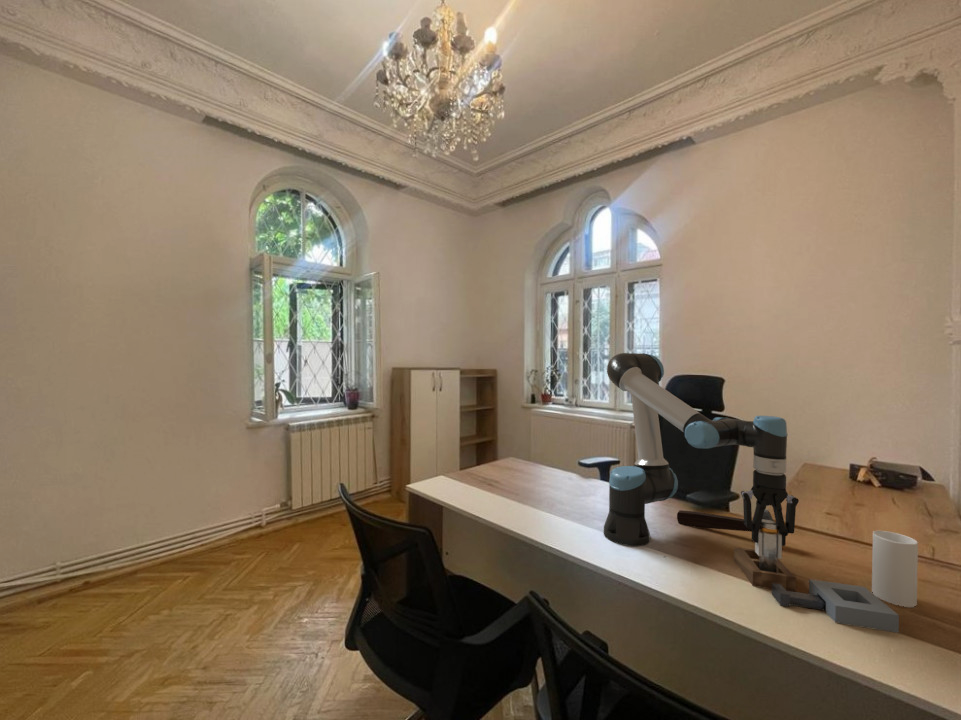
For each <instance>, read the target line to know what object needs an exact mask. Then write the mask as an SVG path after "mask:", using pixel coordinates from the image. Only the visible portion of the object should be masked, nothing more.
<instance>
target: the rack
mask: <svg viewBox="0 0 961 720" xmlns="http://www.w3.org/2000/svg"><path fill="white" fill-rule="evenodd" d="M733 549H734V550H733V551H734V552H733V561H734V562H735V563H736V565H737V566H738V567H739V569H740V571H741V572H742V574H743V575H744V576H745V578H746V579H747V580H748V581H749V583H750V584H751V586H752V587H758V588H764V589H771V590H772V583H776V584H781V585H782V586H783V587H784V589H785V590H786V591H792V592H797V591H796V586H797V577H796V576H795V574H793V573H792V571H790V569H789V568H788V567H787V566H786V565H785V564H784V563H783V562H782V561H781V560H780V559H778V558H777V573H776V572H769V571H762V570H760V569H759V556H758V554H757V553H756V552H755V548H754V549H752V548H745V547H738V546H734V547H733Z"/></svg>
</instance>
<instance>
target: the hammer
mask: <svg viewBox="0 0 961 720" xmlns="http://www.w3.org/2000/svg"><path fill="white" fill-rule="evenodd" d="M762 519H765V520H771V521H774V519H773V517H772V515H771V512H770V511H769V509H765V510H764V514H763V518H762ZM676 520H677V523H678V524H679V525H682V526H685V527H692V528H698V529H699V528H701V529H712V530H713V529H714V530H727V531H737V532H738V531H739V532H751V533H752V529H749V528H747V527H746V526H745V524H744V518H739V517H732V516H727V515H726V516H725V515H720V514H715V513H714V514H713V513H708V512H701V511H693V510H680V509H679V510H678V512H677V514H676Z"/></svg>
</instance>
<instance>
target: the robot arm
mask: <svg viewBox="0 0 961 720" xmlns="http://www.w3.org/2000/svg"><path fill="white" fill-rule="evenodd" d="M664 368H665V367H664V365H663V363H662V361H661V360H660V358H658V357H657V356H655V355H654V354H649V353H645V352H644V353H639V352H638V353H634V352H632V353H630V352H623V353H622V352H621V353H617V354H615V355H614V356H612V357H611V359H609V361H608V363H607V366H606V374H607V377H608V378H609V380H610V381H611V383H613V384H614V385H615V386H616V387H617V388H619V389H620V390H622V391H623V392H628V393H629V394H630V395H631V404H632V413H633V415H632V416H633V423H634V432H635V441H636V449H637V450H636V451H637V459H636V461H635V462H634V466H633V465H628V466H627V465H622V466H617V467H614V468H613V469H612V470H611V471H610V475H609V479H608V481H609V483H608V484H609V485H608V486H609V487H608V488H609V490H608V491H609V493H608V494H609V500H608V501H609V502H608V505H609V509H608V514H607V516H606V520H605V523H604V524H603V537H604V536H605V538H606V539H607V540H609V541H612V542H613V543H616V544H619V545H622V546H628V547H630V546H631V547H641V546H643V547H644V546H646V545H647V544H649V543H650V542H651V541H650V540H651V537H650V536H651V534H650V530H649V527H648V524H647V519H646V515H645V514H646V512H645V511H646V504H647V505H648V504H652V503H656V502H663V501H667V500H668V499H670V498H672V497H674V496H675V494H676V493H677V491H678V487H679V486H678V485H679V481H678V478H677V475H676V473H674V471H673V469H672V468H670V464H669V462H668V460H667V459H666V458H664V451H663V445H662V435H661V429H660V428H661V427H660V420H659V415H660V416H661V417H663V418H664V419H665V420H666V421H668V422H669V423H670V424H671V425H673V426H674V427H676V428H678V430H680V431H681V432H683V433H684V438H685V439H686V441H687V443H688V444H689V445H690V446H691V447H693V448H696V449H704V450H705V449H712V448H718V447H726V446H733V445H735V446H743V447H746V448H753V449H752V450H753V459H752V460H753V464H752V465H753V466H752V467H753V469H754V470H752V471H753V472H752V486H751V489H750V490H747V491H745V490H741V491H740V495H741V497H742V500H743V502H742V503H743V519H744V524H745V526H746V527H747V528H749V529H752V532H751V541H752V542H753V543H754V550H755V552H756V553H757V554H758V556H762V532H761V531H760V530H759V529H760V525H761V522H762V518H763V514H764V510H767V507H768V506H771V507H772V510H773V514H774V519H775V522H776V523H777V524H778V525H777V527H778V534H777V558H778V559H779V560H780V559H781V560H782V555H783V554H782V553H783V550H782V548H783V547H785V546H786V544H787V543H786V542H787V541H786V538H787V536H789V534H792V535H793V534H794V533H795V527H796V526H795V525H796V523H795V522H796V511H797V510H796V509H797V508H796V507H797V506H798V503H800V502H799V499H798V498H797V497H796V496H794V495H790V494H788V492H787V475H786V473H787V447H788V443H787V442H788V430H787V421H786V419H785V418H783V417H779V416H773V415H755V416H754V418H753V421H752V420H744V419H743V420H742V419H736V418H730V417H719V416H718V417H717V416H716V417H714V418H713V419H710V418H708V417H707V416H705V415H704V414H702V413H701V412H699V411H697V410H696V409H694V408H693V407H692V406H690V405H689V404H687V403H686V402H684V401H683V400H682V399H680V398H678V397H677V396H675V395H674V394H672V393H671V392H670V391H668V390H667V389H665V388H664V387H662V386H661V385H660V382H661V381H662V378H663V377H664V375H665V369H664ZM753 496H754V497H755V499H756V502H755V509H754V513H753V516H752V511H753V510H752V499H753ZM784 501H786V506H785V507H786V508H785V509H786V510H785V520H784V515H783V506H782V503H783V502H784Z"/></svg>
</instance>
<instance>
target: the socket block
mask: <svg viewBox="0 0 961 720" xmlns="http://www.w3.org/2000/svg"><path fill="white" fill-rule="evenodd" d="M808 594H812V595H819V596H820V597H821V598H822V599H823V600H824V601H825V602H826V610H825V613H826V614H827V615H828V617H830V619H831V620H832V621H833V622H834V623H837V624H840V625H841V624H842V625H847V626H855V627H861V628H868V629H873V630H880V631H886V632H893V633H897V634H899V633H900V629H899V627H900V626H899V625H900V615H899V614H898V613H897V612H896V611H894V610H893V609H892V608H891V607H890V606H888V605H887V604H885V602H883V600H882V599H880V598H878V597H877V596H875V595H874V594H873V593H872V591H870V590H869V589H868V588H866V587H865V586H860V585H854V584H853V585H852V584H845V583H840V582H839V583H838V582H833V581H824V580H819V579H812V578H808Z"/></svg>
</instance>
